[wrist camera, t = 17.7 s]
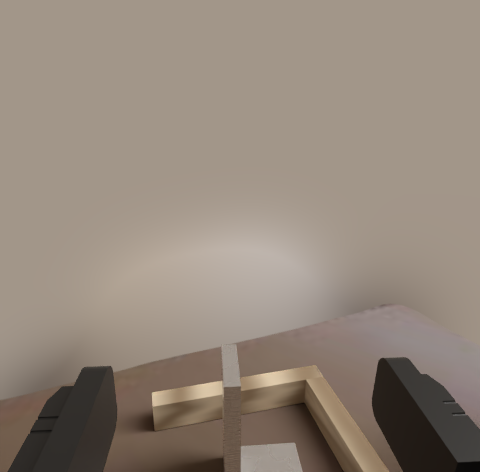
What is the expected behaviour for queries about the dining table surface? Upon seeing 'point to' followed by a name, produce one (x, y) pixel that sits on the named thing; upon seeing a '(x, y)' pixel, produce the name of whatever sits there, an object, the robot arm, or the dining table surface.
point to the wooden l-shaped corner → (273, 396)
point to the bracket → (234, 455)
